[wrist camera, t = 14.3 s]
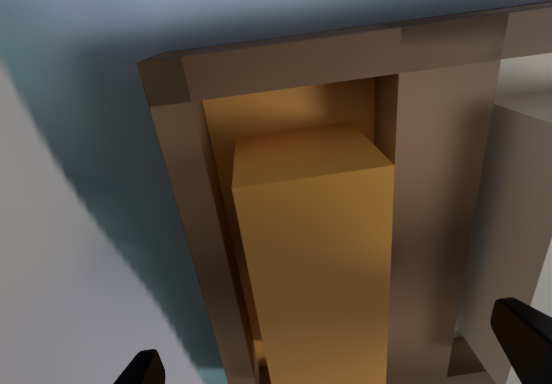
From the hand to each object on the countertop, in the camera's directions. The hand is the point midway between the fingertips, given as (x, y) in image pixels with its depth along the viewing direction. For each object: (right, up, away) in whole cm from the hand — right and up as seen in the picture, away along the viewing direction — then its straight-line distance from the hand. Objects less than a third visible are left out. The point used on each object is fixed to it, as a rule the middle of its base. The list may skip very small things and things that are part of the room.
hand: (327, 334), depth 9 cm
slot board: (+3, +3, +4) cm, 6 cm away
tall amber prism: (0, +2, +3) cm, 4 cm away
